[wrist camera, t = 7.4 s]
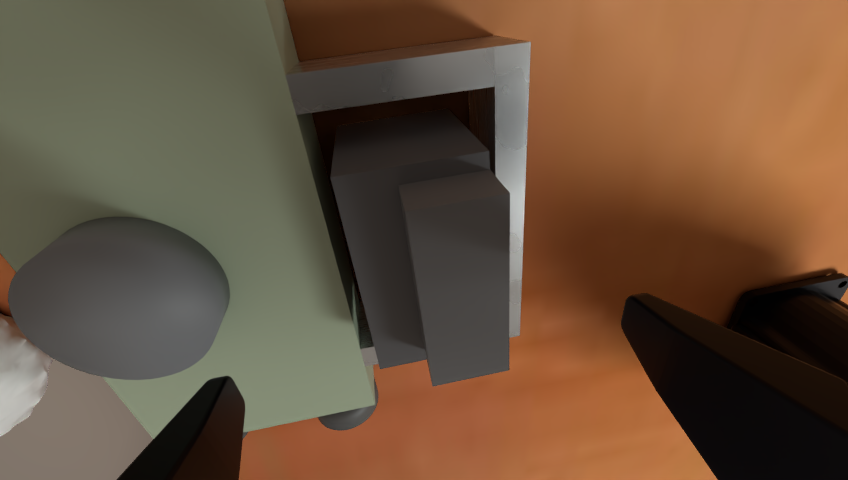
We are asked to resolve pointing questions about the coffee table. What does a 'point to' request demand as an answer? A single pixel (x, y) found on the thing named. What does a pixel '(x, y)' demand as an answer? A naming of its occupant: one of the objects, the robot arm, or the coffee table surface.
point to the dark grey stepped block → (427, 242)
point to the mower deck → (175, 209)
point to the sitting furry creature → (19, 375)
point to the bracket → (432, 75)
